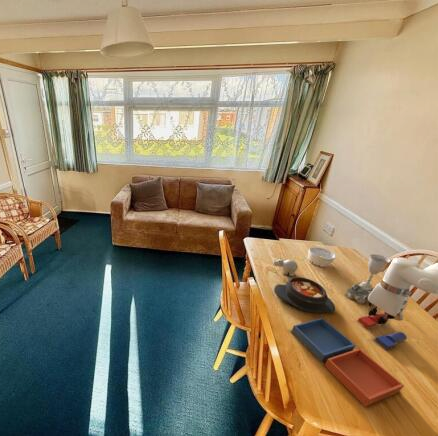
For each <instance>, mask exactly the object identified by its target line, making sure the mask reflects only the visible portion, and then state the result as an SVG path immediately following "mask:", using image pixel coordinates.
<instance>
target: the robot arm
mask: <svg viewBox="0 0 438 436" xmlns="http://www.w3.org/2000/svg"><path fill="white" fill-rule="evenodd" d="M411 286H413V287H415V288H416V289H419V290H420V291H422V292H425V293H428V294H435V295H436V294H438V262H436V263H434V264H431V265H429V266H427V267H425V268H423V269H422V268H421V265H420V264H419V263H418V262H417V261H415V260H413V259H410V258H406V257H399V256H398V257H394V258H393V259H392V260H391V261H390V264H389V266H388V268H387V270H386V272H385V274H384V276H383V277H382V280H381V282H378V283H377V284H376V285H375V286H374V287H373V288H372V290H371V291H370V292H371V293H370V295H369V296H367V297H365V298H364V299H365V300H366V301H365V302H367V304H368V307H369V311H368V314H367V315H368V316H371V315H375V314H378V309H380V310H381V311H383V312H384V313H383V314H384V316H383V317H381V318H380V320H379V322H378V323H377V325H378V326H380V325H386V324H387V322H388V320H396V321H400V322H402V321H403V320H404V318H403V313H404V311H405V310H406V307H407V305H408V301H409V297H411V296H412V295H413V293H412V292H411V291H410V290H411V289H410V287H411Z"/></svg>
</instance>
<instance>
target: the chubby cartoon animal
mask: <svg viewBox="0 0 438 436" xmlns="http://www.w3.org/2000/svg"><path fill="white" fill-rule="evenodd" d="M273 266H274V267H278V268H282V269H283V271H282V274H283V275H285V276H289V277H291V278H293V277H295V275H296V274H295V273H296V272H297V270H298V268H299V266H298V263H297V262H296V261H295V260H292V259H285V260H283V259H282V257H279V259H277V260H275V259H273Z"/></svg>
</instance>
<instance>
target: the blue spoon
mask: <svg viewBox="0 0 438 436" xmlns="http://www.w3.org/2000/svg"><path fill="white" fill-rule="evenodd" d="M407 338H408V337H407V335H406V334H405V333H404V332H403V331H397V332H393V333H390V334H387V335H385V334H383V335H380V336H376V337H375V339H374V342H376V343H377V344H378V345H380V346H381V347H383V348H384V350H389V349H391V348H394V347H396V345H397V344H398V343H400V342H403V341H406V340H407Z"/></svg>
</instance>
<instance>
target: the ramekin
mask: <svg viewBox="0 0 438 436" xmlns="http://www.w3.org/2000/svg"><path fill="white" fill-rule="evenodd" d="M317 255H318V256H317ZM320 256H322V257H320ZM323 257H324V258H323ZM336 258H337V257H336V255H335V253H334V252H332V251H331V250H329V249H326V248H324V247H320V246H319V247H318V246H312V247H309V249H308V254H307V260H308V259H309V260H310V261H311V262H310V261H309V260H308V261H309V262H310V264H313V265H314V266H317V267H322V268H327V267H330V266H332V263H333V262H334V261H335V259H336ZM312 262H313V263H312ZM314 263H315V264H314ZM316 264H318V265H316ZM319 265H322V266H319ZM329 265H330V266H329ZM325 266H326V267H325Z"/></svg>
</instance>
